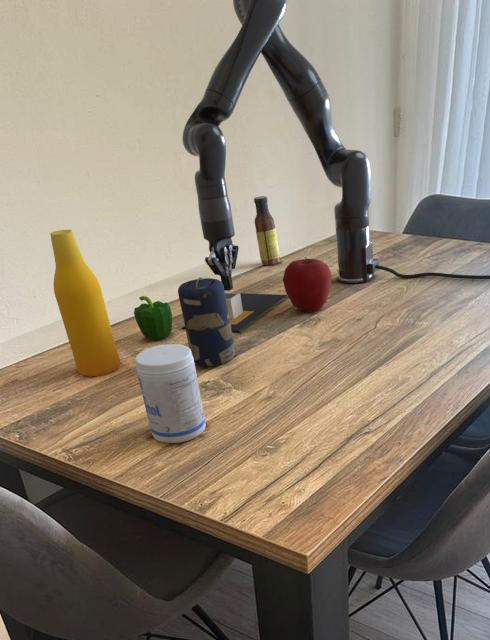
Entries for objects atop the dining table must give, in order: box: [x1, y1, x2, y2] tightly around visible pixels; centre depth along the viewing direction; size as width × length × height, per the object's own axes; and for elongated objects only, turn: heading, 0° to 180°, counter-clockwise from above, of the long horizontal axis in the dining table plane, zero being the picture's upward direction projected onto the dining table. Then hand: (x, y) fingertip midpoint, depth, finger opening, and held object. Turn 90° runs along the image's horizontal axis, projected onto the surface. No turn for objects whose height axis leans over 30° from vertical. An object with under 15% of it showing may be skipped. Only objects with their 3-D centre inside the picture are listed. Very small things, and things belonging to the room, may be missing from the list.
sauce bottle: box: [253, 195, 281, 266], centre depth 208 cm, size 7×6×20 cm
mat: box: [182, 292, 288, 334], centre depth 174 cm, size 16×28×1 cm, turn 158°
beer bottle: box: [49, 229, 121, 377], centre depth 140 cm, size 9×9×29 cm
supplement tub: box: [134, 343, 207, 444], centre depth 115 cm, size 10×10×15 cm
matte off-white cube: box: [225, 292, 243, 319], centre depth 169 cm, size 5×5×5 cm
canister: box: [177, 277, 236, 367], centre depth 141 cm, size 10×10×18 cm
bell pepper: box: [133, 295, 173, 341], centre depth 160 cm, size 8×8×10 cm
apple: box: [282, 256, 332, 313], centre depth 167 cm, size 12×12×13 cm
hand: (228, 289), depth 168 cm, fingers closed
